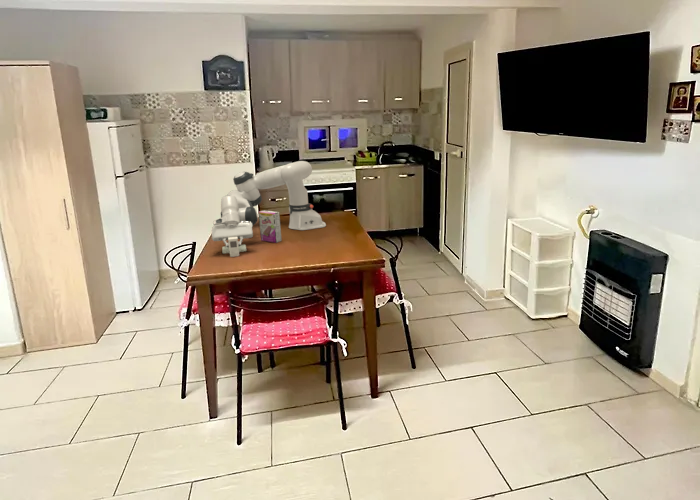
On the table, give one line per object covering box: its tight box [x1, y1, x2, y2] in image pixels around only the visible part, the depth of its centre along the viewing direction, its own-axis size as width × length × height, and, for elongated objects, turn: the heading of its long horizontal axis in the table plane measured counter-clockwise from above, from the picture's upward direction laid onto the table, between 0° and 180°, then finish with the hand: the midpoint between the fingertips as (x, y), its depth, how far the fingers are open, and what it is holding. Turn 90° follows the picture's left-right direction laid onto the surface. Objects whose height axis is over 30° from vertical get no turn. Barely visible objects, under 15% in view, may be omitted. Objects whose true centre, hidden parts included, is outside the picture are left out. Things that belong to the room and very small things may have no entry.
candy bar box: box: [257, 210, 283, 244], centre depth 264 cm, size 11×5×16 cm, turn 59°
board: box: [222, 244, 247, 254], centre depth 253 cm, size 12×12×1 cm
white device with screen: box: [227, 237, 240, 258], centre depth 242 cm, size 4×5×9 cm
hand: (233, 246), depth 241 cm, fingers closed on white device with screen, 4 cm apart
